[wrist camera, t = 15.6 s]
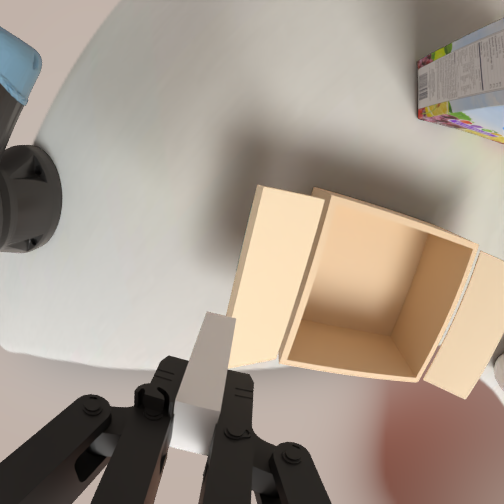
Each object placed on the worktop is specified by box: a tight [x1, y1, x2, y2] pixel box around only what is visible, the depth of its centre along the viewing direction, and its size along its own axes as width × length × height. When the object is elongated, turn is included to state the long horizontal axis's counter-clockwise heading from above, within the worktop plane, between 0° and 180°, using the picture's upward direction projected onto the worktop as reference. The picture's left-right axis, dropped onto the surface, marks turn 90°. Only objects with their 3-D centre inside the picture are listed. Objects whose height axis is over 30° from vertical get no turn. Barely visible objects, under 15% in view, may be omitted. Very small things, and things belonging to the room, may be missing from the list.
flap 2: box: [423, 251, 504, 399], centre depth 25 cm, size 6×15×1 cm
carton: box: [279, 187, 479, 382], centre depth 31 cm, size 16×16×10 cm
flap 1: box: [226, 185, 325, 368], centre depth 25 cm, size 6×15×1 cm
